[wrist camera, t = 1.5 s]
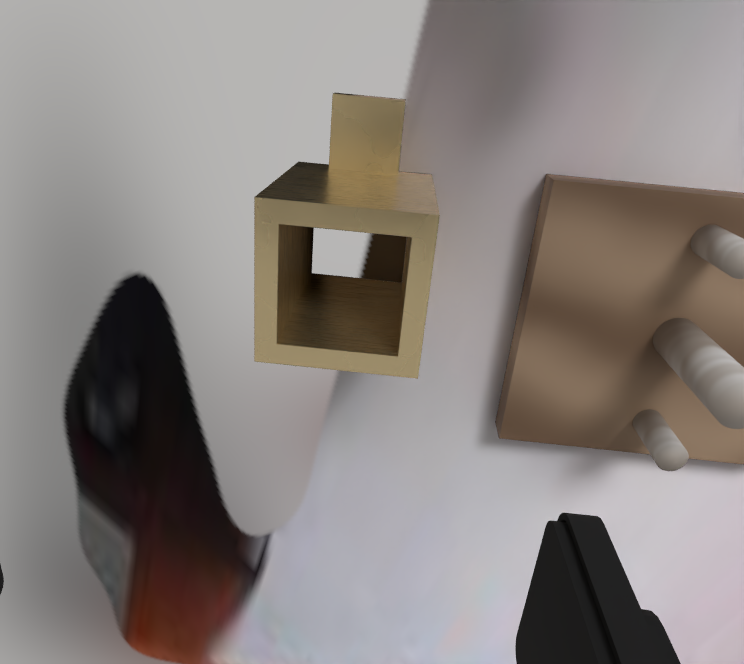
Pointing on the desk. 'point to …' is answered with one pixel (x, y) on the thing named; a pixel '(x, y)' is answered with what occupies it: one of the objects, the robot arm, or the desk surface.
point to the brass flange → (350, 213)
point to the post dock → (631, 323)
